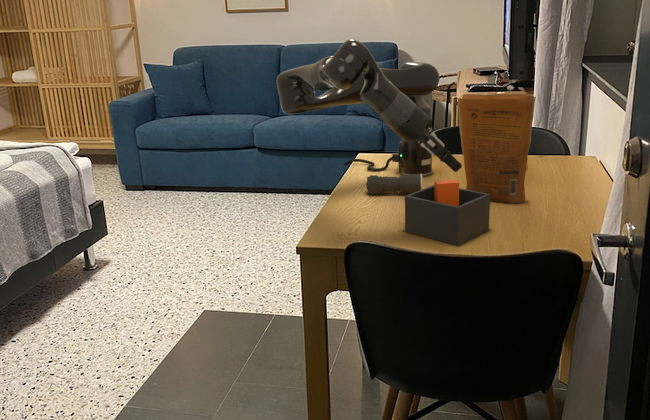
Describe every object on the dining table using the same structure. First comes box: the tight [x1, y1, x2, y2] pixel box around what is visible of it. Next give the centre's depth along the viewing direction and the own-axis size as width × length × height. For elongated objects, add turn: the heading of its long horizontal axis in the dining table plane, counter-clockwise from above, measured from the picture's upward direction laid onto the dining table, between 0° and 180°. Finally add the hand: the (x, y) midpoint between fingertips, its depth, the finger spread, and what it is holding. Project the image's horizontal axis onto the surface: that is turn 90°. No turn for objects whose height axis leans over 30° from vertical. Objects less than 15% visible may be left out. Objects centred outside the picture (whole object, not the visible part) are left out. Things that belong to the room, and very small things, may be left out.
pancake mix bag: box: [456, 93, 536, 204], centre depth 169 cm, size 7×19×28 cm, turn 58°
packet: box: [433, 179, 460, 207], centre depth 151 cm, size 5×3×11 cm, turn 94°
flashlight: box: [365, 174, 423, 195], centre depth 182 cm, size 15×5×5 cm, turn 83°
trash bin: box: [404, 184, 491, 246], centre depth 152 cm, size 15×13×9 cm
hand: (454, 164), depth 148 cm, fingers open, 7 cm apart
